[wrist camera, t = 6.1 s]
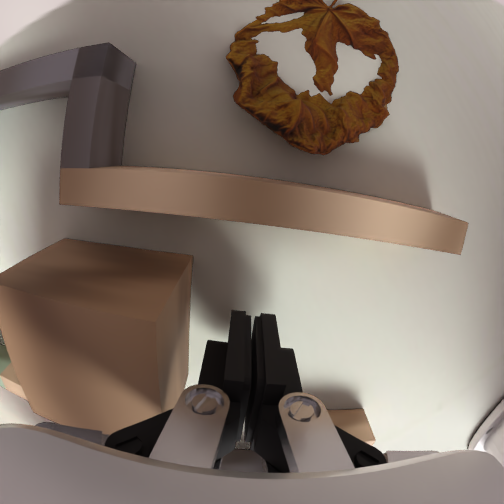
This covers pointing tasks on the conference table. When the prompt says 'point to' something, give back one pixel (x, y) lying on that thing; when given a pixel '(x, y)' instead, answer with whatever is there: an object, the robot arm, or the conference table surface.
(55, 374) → the walnut block
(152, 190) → the lane
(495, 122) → the conference table surface
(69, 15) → the conference table surface
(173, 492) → the robot arm
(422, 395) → the conference table surface
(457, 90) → the conference table surface
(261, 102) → the leaf
